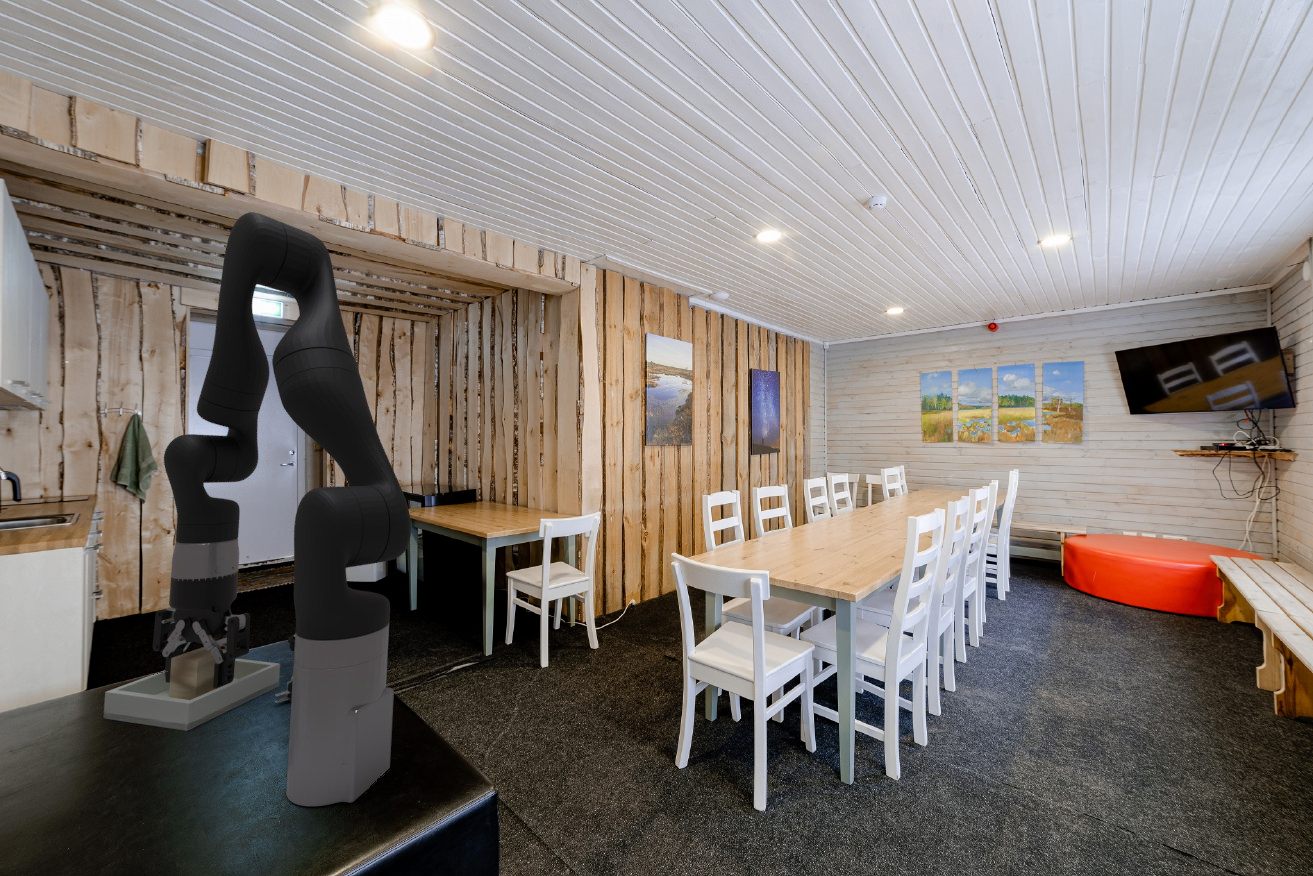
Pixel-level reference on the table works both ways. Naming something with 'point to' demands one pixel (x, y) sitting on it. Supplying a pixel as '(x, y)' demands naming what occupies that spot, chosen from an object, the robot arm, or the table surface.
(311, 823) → the table surface
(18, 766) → the table surface
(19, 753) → the table surface
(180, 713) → the tray
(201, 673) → the pine block
